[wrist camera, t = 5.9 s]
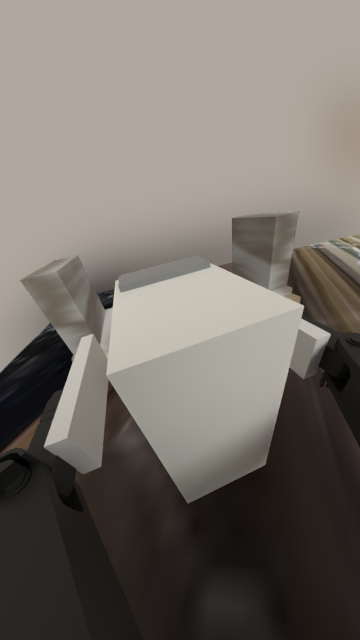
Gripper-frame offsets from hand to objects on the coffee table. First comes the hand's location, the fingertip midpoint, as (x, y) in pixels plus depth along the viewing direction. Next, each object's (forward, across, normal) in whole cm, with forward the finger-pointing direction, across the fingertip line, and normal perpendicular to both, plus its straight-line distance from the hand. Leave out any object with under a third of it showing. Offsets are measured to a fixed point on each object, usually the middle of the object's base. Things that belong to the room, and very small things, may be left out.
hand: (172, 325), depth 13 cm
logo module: (-4, 0, -6) cm, 8 cm away
